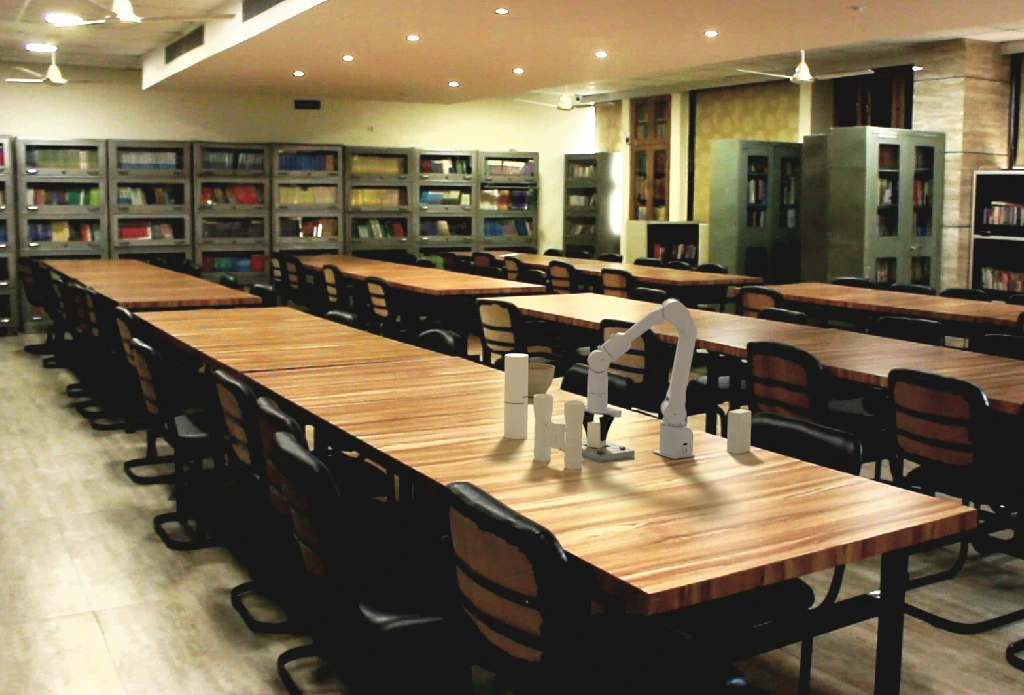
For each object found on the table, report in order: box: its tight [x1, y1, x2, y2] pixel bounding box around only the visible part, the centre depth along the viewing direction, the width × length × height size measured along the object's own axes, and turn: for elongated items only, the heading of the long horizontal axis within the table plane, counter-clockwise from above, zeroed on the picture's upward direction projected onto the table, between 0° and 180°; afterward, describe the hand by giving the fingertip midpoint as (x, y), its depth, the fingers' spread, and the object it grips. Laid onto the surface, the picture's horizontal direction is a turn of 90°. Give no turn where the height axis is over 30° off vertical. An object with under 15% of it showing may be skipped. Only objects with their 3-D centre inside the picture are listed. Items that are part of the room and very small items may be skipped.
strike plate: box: [582, 437, 636, 463], centre depth 305 cm, size 20×12×3 cm, turn 32°
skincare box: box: [726, 408, 752, 455], centre depth 308 cm, size 6×4×12 cm
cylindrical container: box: [503, 353, 529, 440], centre depth 323 cm, size 7×7×25 cm
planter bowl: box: [528, 362, 556, 398], centre depth 392 cm, size 16×16×11 cm
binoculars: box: [533, 393, 586, 470], centre depth 291 cm, size 17×5×18 cm, turn 43°
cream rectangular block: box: [587, 419, 607, 448], centre depth 304 cm, size 4×4×7 cm
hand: (596, 439), depth 305 cm, fingers closed on cream rectangular block, 4 cm apart
